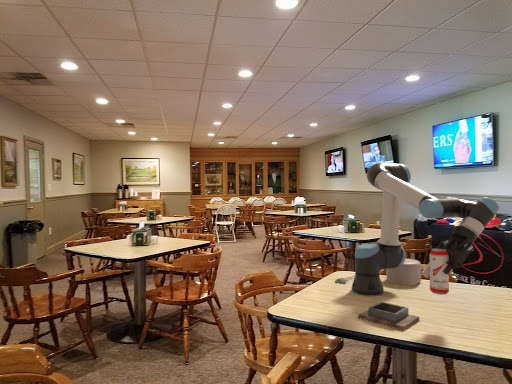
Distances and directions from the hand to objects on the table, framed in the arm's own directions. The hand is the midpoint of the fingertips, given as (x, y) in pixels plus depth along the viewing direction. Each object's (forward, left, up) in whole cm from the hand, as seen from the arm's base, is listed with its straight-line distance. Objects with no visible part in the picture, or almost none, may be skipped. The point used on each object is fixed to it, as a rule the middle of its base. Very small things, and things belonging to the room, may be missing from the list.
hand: (430, 277), depth 127 cm
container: (-35, +58, -18) cm, 71 cm away
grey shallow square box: (-14, -5, -16) cm, 22 cm away
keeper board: (-14, -5, -18) cm, 23 cm away
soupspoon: (-59, +39, -19) cm, 73 cm away
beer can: (+2, +3, -6) cm, 7 cm away
